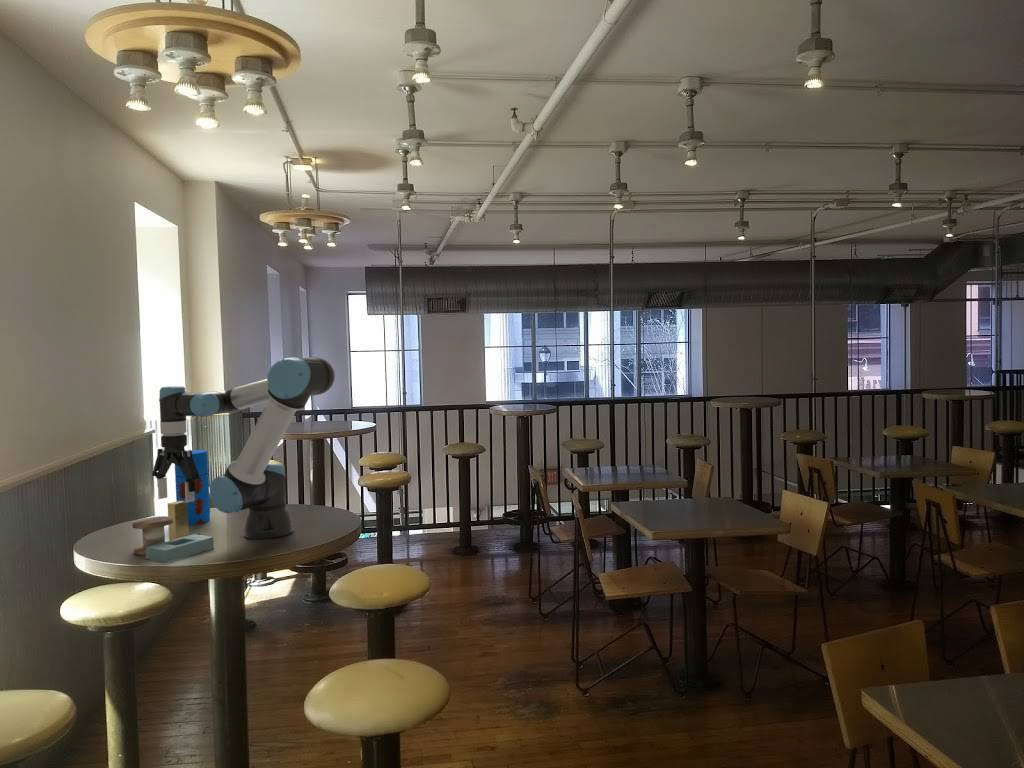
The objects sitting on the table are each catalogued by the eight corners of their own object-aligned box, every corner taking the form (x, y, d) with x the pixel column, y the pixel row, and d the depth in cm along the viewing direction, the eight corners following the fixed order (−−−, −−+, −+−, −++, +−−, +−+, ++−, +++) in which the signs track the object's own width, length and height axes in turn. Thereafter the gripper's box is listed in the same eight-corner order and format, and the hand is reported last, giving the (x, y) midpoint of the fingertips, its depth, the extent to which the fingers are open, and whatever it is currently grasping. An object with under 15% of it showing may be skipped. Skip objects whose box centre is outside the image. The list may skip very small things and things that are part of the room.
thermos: (215, 521, 251) (211, 451, 250) (183, 526, 244) (180, 455, 243) (203, 516, 259) (200, 449, 258) (173, 522, 252) (169, 452, 251)
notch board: (194, 545, 218) (193, 534, 218) (213, 548, 213) (213, 537, 213) (146, 558, 204) (145, 547, 204) (165, 562, 199) (165, 550, 199)
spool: (182, 547, 215) (180, 518, 215) (148, 557, 206) (147, 526, 205) (159, 544, 220) (158, 515, 220) (125, 553, 211) (124, 522, 211)
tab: (181, 537, 229) (180, 500, 228) (188, 538, 227) (187, 501, 227) (169, 540, 225) (167, 503, 224) (176, 541, 223) (174, 504, 223)
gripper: (210, 434, 222) (212, 501, 223) (160, 431, 234) (162, 494, 235) (189, 437, 215) (191, 505, 216) (138, 434, 227) (141, 498, 228)
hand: (176, 500), depth 226 cm, fingers open, 13 cm apart
